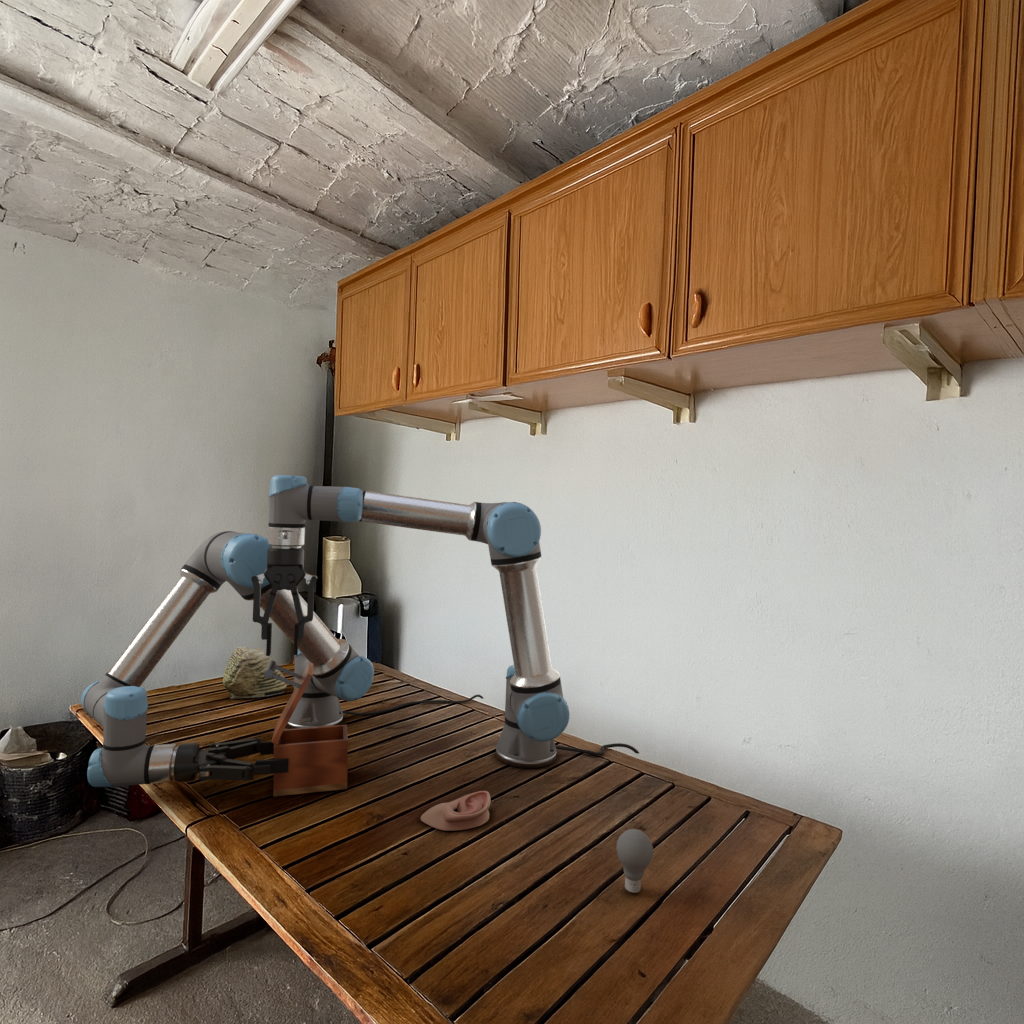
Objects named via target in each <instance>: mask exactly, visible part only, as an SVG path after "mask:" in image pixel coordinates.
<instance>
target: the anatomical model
mask: <svg viewBox="0 0 1024 1024" xmlns="http://www.w3.org/2000/svg"><path fill="white" fill-rule="evenodd" d="M491 799H492V798H491V793H490V792H489V791H488V790H478V791H475V792H472V793H468V794H465V795H463V796H461V797H459V798H457V799H455V800H451V801H449V802H441V803H438V804H436V805H434V806H432V807H430V808H429V809H427V810H426V811H425V812H424V813H423V814H421V816H420V817H419V818H420V821H421V822H423V823H424V824H426V825H428V826H429V827H431V828H434V829H437V830H440V831H443V832H445V831H446V832H449V831H450V832H452V831H464V830H469V829H474V828H477V827H480V826H482V825H485V824H486V823H487V822H488V821H489V820H490V810H489V809H490V807H491V803H492V801H491Z"/></svg>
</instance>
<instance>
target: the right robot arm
mask: <svg viewBox="0 0 1024 1024" xmlns="http://www.w3.org/2000/svg"><path fill="white" fill-rule="evenodd" d="M307 481H308V479H307V478H306V476H302V475H289V474H288V475H286V474H275V475H273V476H272V477H271V478H270V484H269V494H268V523H267V524H268V526H267V539H268V545H270V547H269V548H268V549H267V567H266V570H265V571H264V573H262V574H259V575H253V577H252V578H251V580H252V583H253V586H254V598H253V600H252V622H253V623H258V624H260V626H261V633H260V638H261V640H263V641H266V645H265V647H266V650H265V653H266V656H269V657H270V656H271V655H272V636H273V635H272V633H273V632H272V631H273V623H272V622H269V621H270V614H271V611H272V608H273V604H274V601H275V598H276V594H277V591H278V590H283V589H285V590H291V594H292V597H293V602H294V606H295V610H296V615H297V619H298V623H295V630H294V644H293V656H294V655H297V654H298V639H303V637H304V624H305V623H307V622H310V621H312V620H313V611H314V604H315V603H314V602H315V601H314V599H315V598H314V597H315V586H316V584H317V580H318V576H317V575H316V574H310V573H308V572H306V570H305V567H304V566H305V565H304V564H305V561H304V560H305V549H304V547H303V546H305V538H306V521H325V522H327V521H328V522H343V523H349V522H361V523H362V522H364V523H368V524H369V523H370V524H378V525H384V526H391V527H399V528H406V529H414V530H420V531H427V532H433V533H434V532H436V533H443V534H449V535H457V536H463V537H464V536H465V537H466V539H467V540H468V541H471V542H478V543H482V544H485V545H488V546H487V547H488V552H489V558H490V565H491V567H493V568H494V569H495V570H497V572H498V573H499V578H500V586H501V593H502V598H503V605H504V610H505V611H504V612H505V617H506V623H507V629H508V636H509V637H508V638H509V642H510V648H511V649H510V650H511V655H512V661H513V664H512V665H509V666H507V669H506V675H505V706H504V724H503V726H502V730H501V733H500V735H499V738H498V740H497V744H496V746H495V748H496V749H495V756H496V758H497V759H498V760H499V761H500V762H501V763H503V764H505V765H508V766H511V767H516V768H520V769H539V768H544V767H547V766H550V765H552V764H553V763H554V762H556V760H557V750H561V751H568V752H574V753H582V754H587V755H590V756H591V755H592V756H596V757H599V756H603V755H604V754H605V749H609V748H610V749H611V748H626V749H628V750H631V751H632V752H634V753H635V754H636V755H637V754H640V752H639V751H638V749H636V747H634V746H632V745H630V744H627V743H620V742H617V743H608V744H604V745H601V746H600V751H592V750H589V749H583V748H577V747H569V746H563V745H556V742H555V739H557V738H558V737H560V736H561V735H562V734H563V732H564V731H565V730H566V729H567V727H568V724H569V721H570V716H571V715H570V707H569V704H568V702H567V701H566V700H565V697H564V694H563V693H564V692H563V686H562V681H561V674H560V672H559V671H558V670H557V669H555V668H553V665H552V659H551V651H550V647H549V639H548V632H547V626H546V621H545V614H544V613H545V612H544V606H543V602H542V601H543V599H542V594H541V588H540V581H539V574H538V568H537V567H538V564H539V562H540V561H541V559H542V551H541V543H540V540H541V536H542V525H541V521H540V519H539V517H538V515H537V514H536V513H535V511H534V510H533V509H532V508H530V506H528V505H526V504H524V503H521V502H516V501H511V502H510V501H508V502H507V501H502V502H493V503H492V502H479V501H473V502H472V503H470V504H463V503H457V502H449V501H443V500H436V499H428V498H421V497H414V496H406V495H399V494H391V493H385V492H380V491H379V492H378V491H371V490H362V489H361V488H359V487H351V486H331V485H329V486H328V485H327V486H324V485H310V484H309V483H308V482H307ZM264 578H266V579H267V580H268V582H269V583H270V585H271V586H272V589H271V592H270V596H269V599H268V603H267V606H266V609H265V612H264V611H263V612H264V613H263V616H262V615H261V607H260V601H261V584H262V583H263V579H264ZM303 580H305V584H306V585H307V604H308V605H307V616H304V615H303V611H302V606H301V602H300V598H299V594H300V593H299V589H298V586H299V584H300V583H301V582H302V581H303Z"/></svg>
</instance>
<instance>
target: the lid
mask: <svg viewBox="0 0 1024 1024" xmlns="http://www.w3.org/2000/svg"><path fill="white" fill-rule="evenodd" d="M275 669H277V670H279V671H280V672H281V673H285V674H287V675H289V676H291V677H293V678H294V677H296V678H298V679H300V680H299V682H298V683H296V682H294V680H291V679H289V678H286V677H285V676H284V677H285V678H284V677H281V676H279V675H277V674H274V671H275ZM312 675H313V663H310V662H309V663H308V665H307V667H306V669H305V670H304V672H303V674H302V676H301V675H299V674H297V673H294V672H293V671H291V670H290V669H288V668H285V667H282V666H280V665H278V664H277V661H275V660H273V661H269V662H268V664H267V667H266V670H265V672H264V676H265V677H266V678H268V679H269V678H272V677H273V678H275V679H278V680H280V681H283V682H285V683H286V685H289V686H292V687H294V686H295V687H296V688H295V689H294V688H293V692H292V693H291V695H290V697H289V698H288V700H287V703H286V704H285V706H284V708H283V710H282V712H281V713H280V716H279V717H278V719H277V721H276V723H275V724H274V725H275V726H274V730H273V733H272V738H271V741H272V743H274V744H277V742H278V740H279V738H280V737H281V735H282V733H283V731H284V729H286V728H287V726H286V725H287V723H288V721H289V719H290V718H291V716H292V714H293V712H294V710H295V708H296V706H297V704H298V702H299V701H300V699H301V697H302V695H303V693H304V691H305V689H306V687H307V685H308V683H309V682H310V680H311V678H312Z"/></svg>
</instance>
